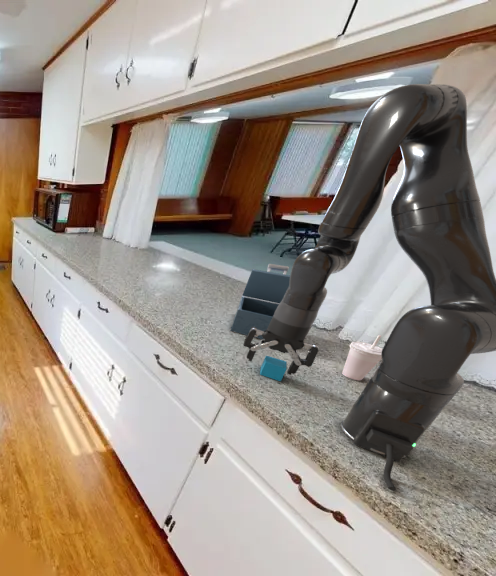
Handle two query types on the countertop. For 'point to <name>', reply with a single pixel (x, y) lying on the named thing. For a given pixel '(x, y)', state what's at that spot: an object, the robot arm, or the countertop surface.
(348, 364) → the smoothie
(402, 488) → the countertop surface
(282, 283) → the lid
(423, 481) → the countertop surface
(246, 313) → the compartment
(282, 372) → the block
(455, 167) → the robot arm
